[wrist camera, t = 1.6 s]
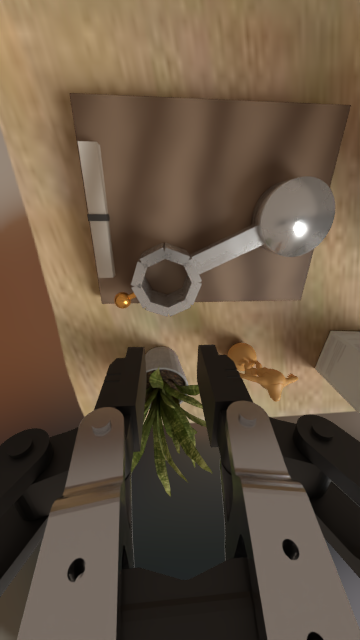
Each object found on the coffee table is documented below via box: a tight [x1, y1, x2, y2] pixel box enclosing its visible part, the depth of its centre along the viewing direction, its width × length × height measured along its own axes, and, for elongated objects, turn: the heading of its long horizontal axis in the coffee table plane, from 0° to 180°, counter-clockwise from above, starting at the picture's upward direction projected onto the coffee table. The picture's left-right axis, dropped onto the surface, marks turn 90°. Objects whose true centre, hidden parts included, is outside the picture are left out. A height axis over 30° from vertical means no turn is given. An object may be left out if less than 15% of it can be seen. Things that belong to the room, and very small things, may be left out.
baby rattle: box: [114, 176, 335, 316], centre depth 23 cm, size 24×7×4 cm, turn 114°
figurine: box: [228, 343, 298, 401], centre depth 28 cm, size 8×6×12 cm
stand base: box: [70, 93, 351, 304], centre depth 24 cm, size 25×19×3 cm
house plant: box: [131, 347, 212, 496], centre depth 27 cm, size 14×14×16 cm
